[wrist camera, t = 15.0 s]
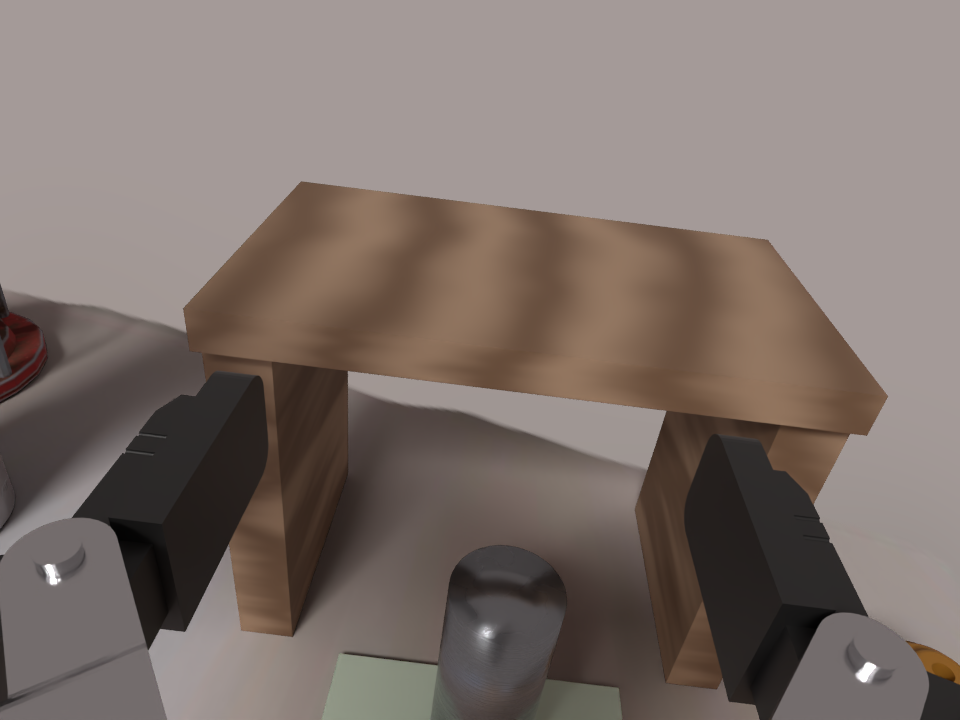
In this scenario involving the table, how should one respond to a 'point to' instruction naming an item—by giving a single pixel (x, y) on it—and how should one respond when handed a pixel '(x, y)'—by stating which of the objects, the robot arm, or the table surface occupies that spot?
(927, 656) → the ornamental finial
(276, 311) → the shelf
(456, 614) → the canister
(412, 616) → the table surface
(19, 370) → the hourglass
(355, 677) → the mat
